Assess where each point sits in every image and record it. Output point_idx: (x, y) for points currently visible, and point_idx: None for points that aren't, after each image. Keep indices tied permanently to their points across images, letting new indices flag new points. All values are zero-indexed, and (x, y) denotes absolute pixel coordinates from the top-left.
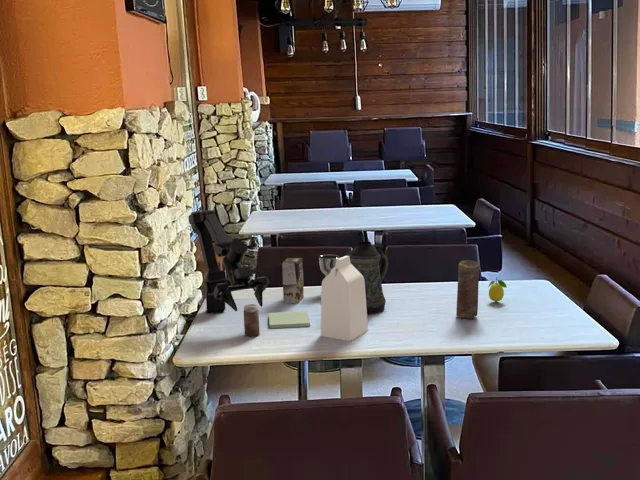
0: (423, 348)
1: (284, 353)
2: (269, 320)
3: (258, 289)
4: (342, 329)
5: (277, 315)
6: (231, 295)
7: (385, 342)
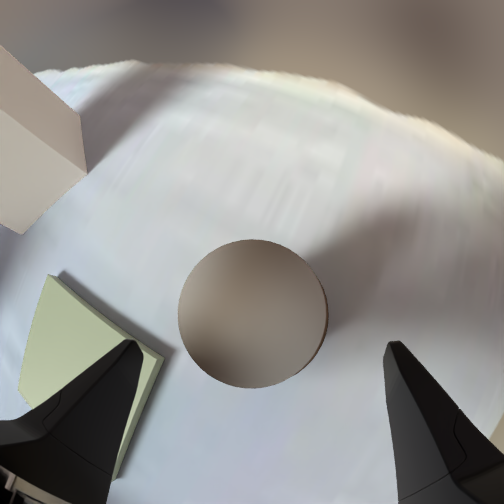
0: (59, 71)
1: (259, 78)
2: (132, 415)
3: (34, 445)
4: (64, 114)
5: None
6: (460, 475)
7: None
